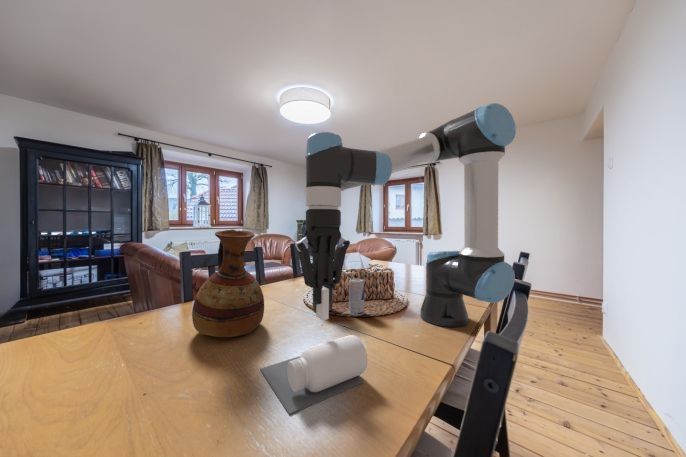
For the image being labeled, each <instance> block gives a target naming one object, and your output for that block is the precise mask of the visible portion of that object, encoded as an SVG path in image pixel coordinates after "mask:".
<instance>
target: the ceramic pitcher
mask: <svg viewBox="0 0 686 457" xmlns="http://www.w3.org/2000/svg"><path fill="white" fill-rule="evenodd" d="M214 235H215V237H216V238H218V239H219V246H218V249H217V263H218V264H217V266H218V267H217V268H218V270H217V271H216V272H214V273H212V274H211V275H210V276H209V277H208V278H207V279H206V280H205V281H204V282H203V283H202V285H201V286H200V288H199V290H198V291H197V294H196V295H195V299H194V301H193V305H192V308H191V310H192V311H191V320H192V325H193V328H194V329H195V331H196V332H197V333H200V334H202V335H206V336H211V337H217V338H232V337H239V336H240V337H241V336H242V335H246V334H249V333H250V332H252V331H254V330H255V329H256V328H257V327H259V326H260V324H261V322H262V321H263V319H264V318H263V317H264V314H265V297H264V294H263V290H262V288H261V285H260V284H259V282H258V281H257V279H256V278H255V276H254V275H252V274H251V273H250V272H248V271H247V270H246V268H245V262H244V261H245V260H244V259H245V253H246V252H245V251H246V249H247V245H248V243H249V242H250V241H251V239H253V238H254V237H255V236H256V234H255V233H254V232H251V231H248V230H247V231H246V230H236V229H226V230H220V231H216V232H215V233H214Z"/></svg>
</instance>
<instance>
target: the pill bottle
mask: <svg viewBox="0 0 686 457" xmlns="http://www.w3.org/2000/svg"><path fill="white" fill-rule="evenodd" d="M299 356H300V358H297V359H295V360H292V361H289V363H288V365H287V375H288V380H289V384H290V386H291V389H292V390H293V391H294V392H298V391H301V390H303V389H305V388H307V389H308V390H309V391H311V392H319V391H322V390H324V389H327V388H329V387H331V386H334V385H336V384H339V383H341V382H344V381H346V380H349V379H351V378H354V377H356V376H357V377H358V376H360V375H362V374H364V373H365V372H366V370H367V369H368V368H367V367H368V363H369V362H368V361H369V360H368V355H367V350H366V347H365V345H364V343H363V341H362V340H361V339H360V338H359V337H358V336H357V335H354V334H351V335H350V334H349V335H346V336H342V337H338V338H334V339H331V340H329V341H325V342H321V343H318V344H316V345H312V346H308V347H307V348H305V349H303V351H301V354H300V355H299Z"/></svg>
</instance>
